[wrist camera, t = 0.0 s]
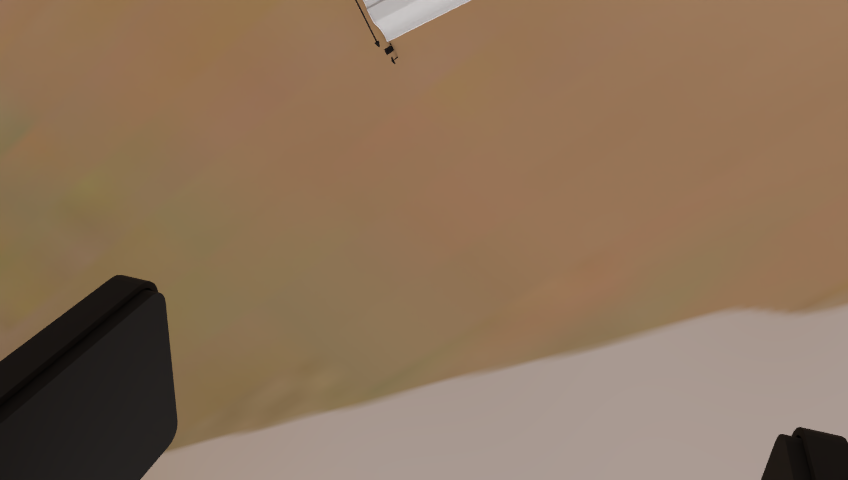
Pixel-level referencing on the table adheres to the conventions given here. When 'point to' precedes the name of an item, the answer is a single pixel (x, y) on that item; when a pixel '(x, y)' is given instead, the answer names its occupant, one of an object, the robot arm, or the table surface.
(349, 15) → the table surface
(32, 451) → the robot arm
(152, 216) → the table surface
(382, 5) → the baseboard
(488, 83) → the table surface
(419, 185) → the table surface
